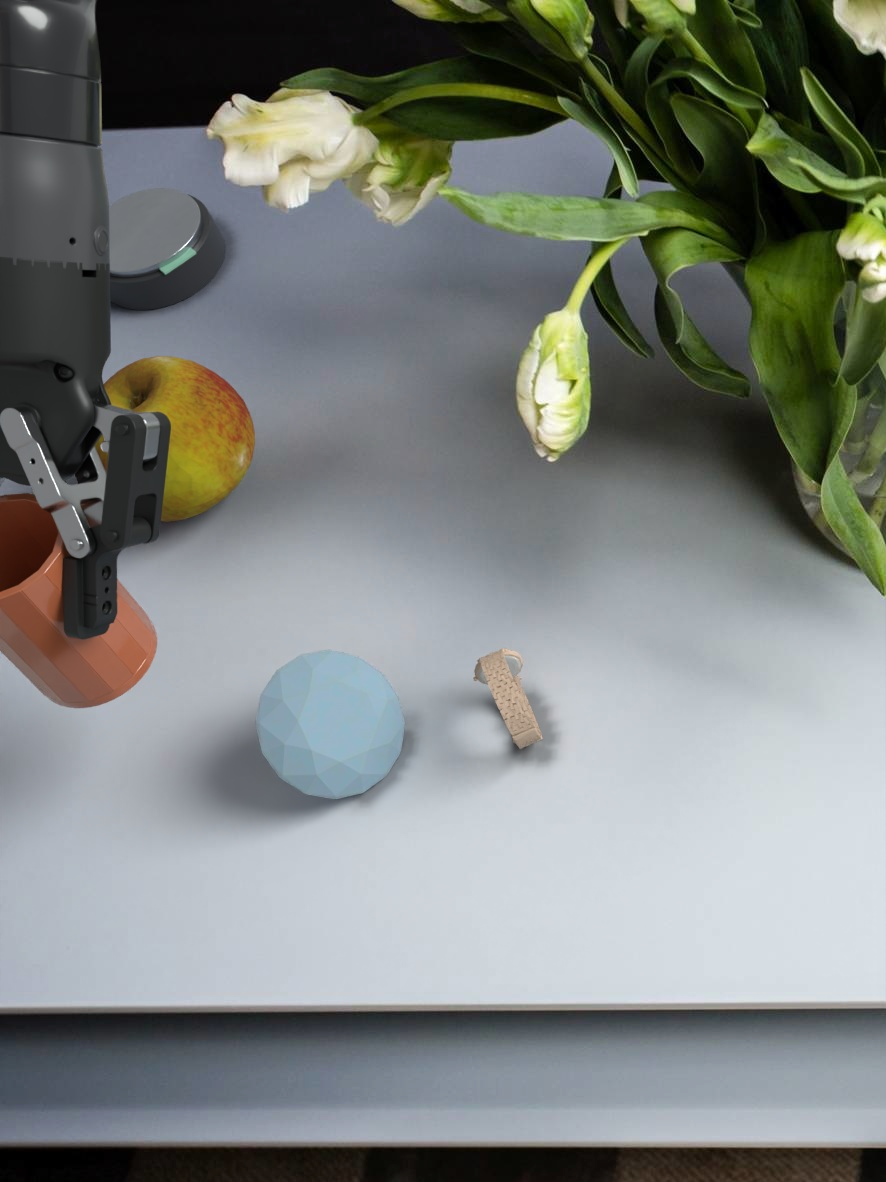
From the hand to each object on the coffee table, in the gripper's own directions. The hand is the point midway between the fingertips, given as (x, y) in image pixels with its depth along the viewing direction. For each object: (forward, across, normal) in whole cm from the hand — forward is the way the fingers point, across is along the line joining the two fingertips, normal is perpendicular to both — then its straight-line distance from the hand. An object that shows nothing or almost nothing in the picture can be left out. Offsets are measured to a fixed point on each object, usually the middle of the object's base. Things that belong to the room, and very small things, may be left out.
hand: (23, 623), depth 74 cm
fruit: (-3, -6, +22) cm, 24 cm away
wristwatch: (+5, +19, +14) cm, 24 cm away
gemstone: (+8, +10, +12) cm, 17 cm away
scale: (-15, -18, +34) cm, 41 cm away
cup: (+3, 0, +5) cm, 6 cm away
